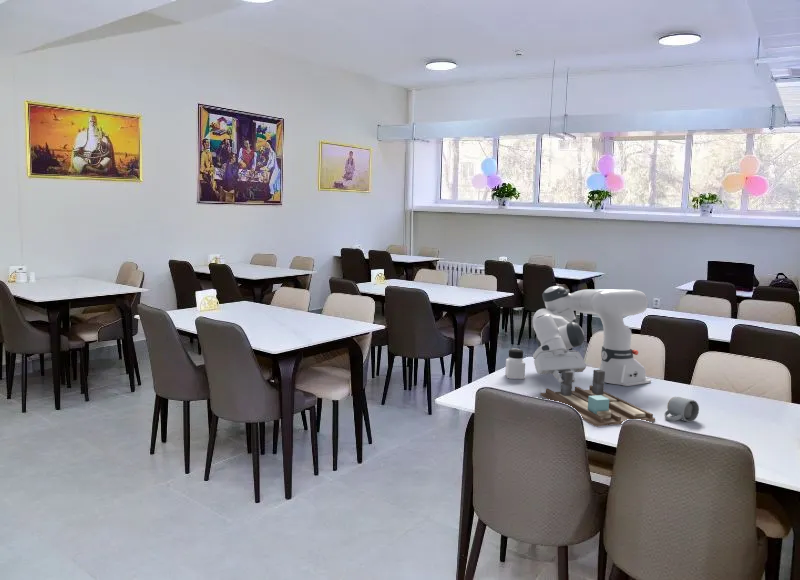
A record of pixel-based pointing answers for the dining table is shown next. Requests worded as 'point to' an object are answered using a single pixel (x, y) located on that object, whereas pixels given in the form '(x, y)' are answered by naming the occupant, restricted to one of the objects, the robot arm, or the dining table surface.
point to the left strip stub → (600, 384)
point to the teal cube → (598, 403)
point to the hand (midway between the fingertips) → (567, 382)
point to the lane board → (616, 413)
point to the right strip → (567, 393)
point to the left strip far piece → (629, 409)
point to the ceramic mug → (682, 409)
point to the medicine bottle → (515, 365)
